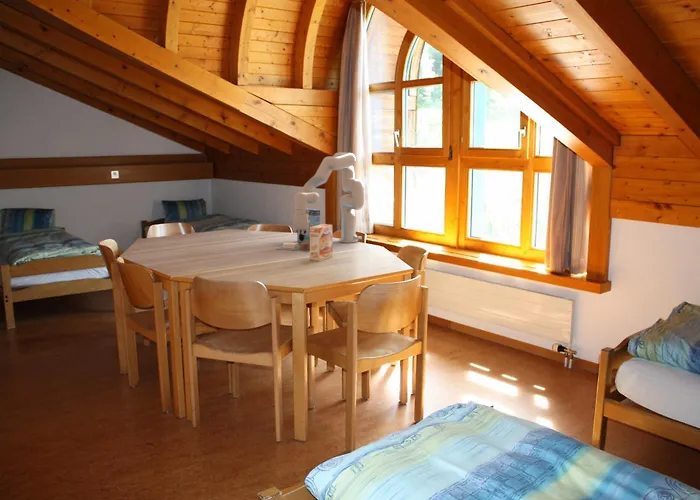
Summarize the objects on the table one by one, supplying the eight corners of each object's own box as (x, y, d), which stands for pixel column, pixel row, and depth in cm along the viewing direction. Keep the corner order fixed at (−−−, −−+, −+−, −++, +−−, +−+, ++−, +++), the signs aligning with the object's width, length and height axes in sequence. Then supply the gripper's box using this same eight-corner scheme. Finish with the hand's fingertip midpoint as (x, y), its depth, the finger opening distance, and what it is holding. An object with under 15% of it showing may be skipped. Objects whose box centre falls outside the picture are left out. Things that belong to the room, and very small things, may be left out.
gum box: (297, 241, 457) (296, 207, 453) (303, 240, 460) (302, 207, 456) (314, 245, 442) (313, 210, 438) (320, 244, 445) (320, 209, 441)
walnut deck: (320, 247, 436) (320, 240, 435) (313, 250, 422) (313, 244, 422) (306, 246, 438) (306, 240, 437) (299, 250, 425) (299, 243, 424)
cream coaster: (286, 242, 438) (286, 245, 438) (282, 244, 430) (282, 248, 431) (298, 242, 436) (298, 246, 436) (294, 244, 428) (294, 248, 429)
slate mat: (306, 246, 439) (306, 245, 439) (298, 250, 424) (298, 250, 424) (284, 245, 443) (284, 244, 443) (275, 249, 428) (275, 248, 428)
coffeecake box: (319, 261, 390) (319, 227, 387) (309, 260, 394) (309, 226, 390) (333, 256, 403) (332, 224, 400) (322, 255, 407) (322, 223, 403)
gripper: (314, 211, 429) (314, 240, 432) (292, 210, 433) (292, 239, 436) (310, 213, 422) (311, 242, 425) (288, 212, 426) (288, 241, 429)
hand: (301, 240), depth 431 cm, fingers closed
